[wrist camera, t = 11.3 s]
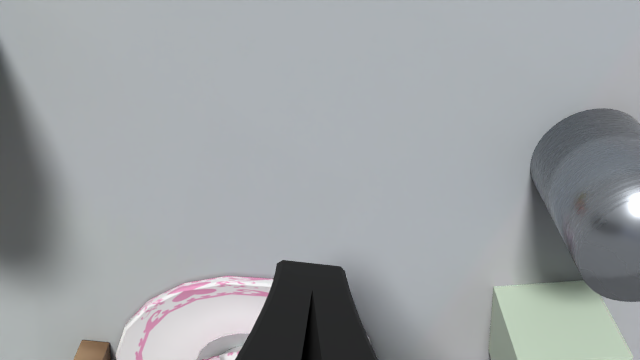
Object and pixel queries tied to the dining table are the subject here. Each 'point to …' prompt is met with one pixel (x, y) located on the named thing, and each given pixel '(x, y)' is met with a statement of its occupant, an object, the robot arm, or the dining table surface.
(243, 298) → the teacup
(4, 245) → the dining table surface
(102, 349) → the wooden cradle
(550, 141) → the grey canister
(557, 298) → the sage block
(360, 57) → the dining table surface
